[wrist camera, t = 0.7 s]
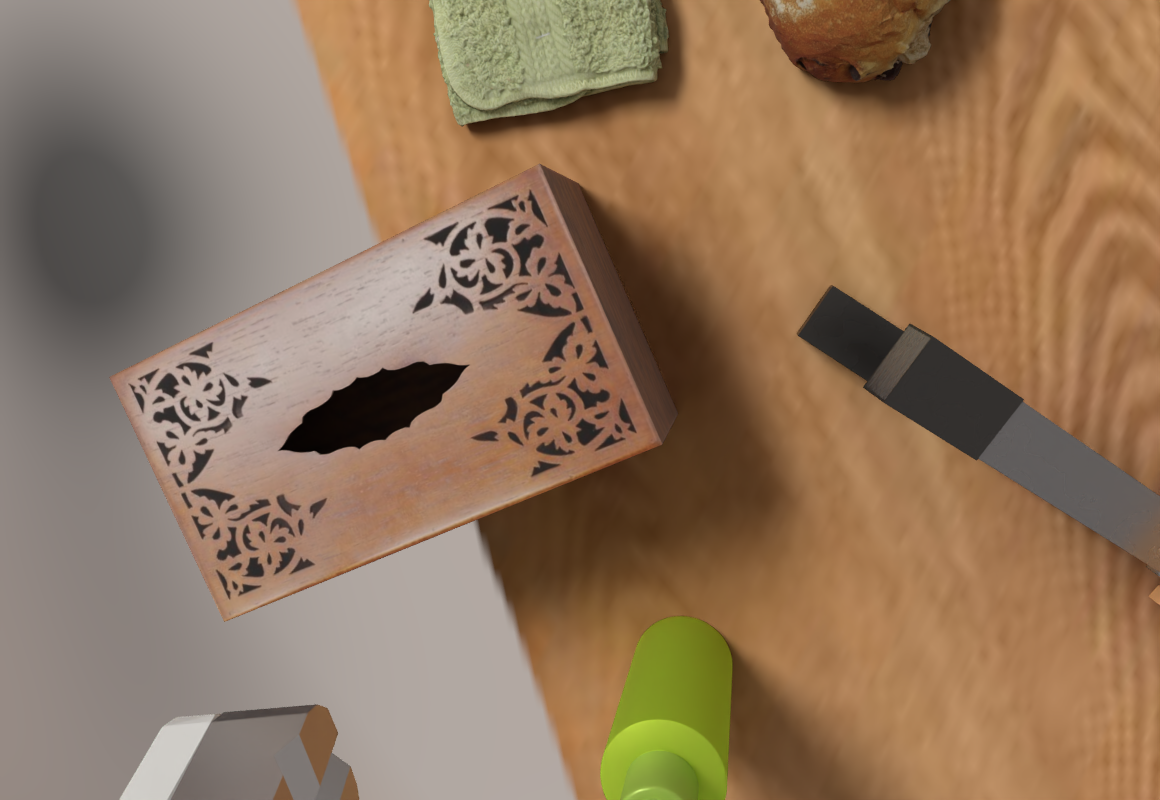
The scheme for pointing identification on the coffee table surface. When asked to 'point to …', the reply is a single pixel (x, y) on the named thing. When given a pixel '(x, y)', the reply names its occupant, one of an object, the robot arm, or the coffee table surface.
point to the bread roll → (853, 35)
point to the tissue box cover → (400, 394)
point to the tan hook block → (1156, 595)
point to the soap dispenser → (672, 717)
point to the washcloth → (543, 51)
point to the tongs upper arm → (1016, 441)
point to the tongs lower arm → (849, 332)
